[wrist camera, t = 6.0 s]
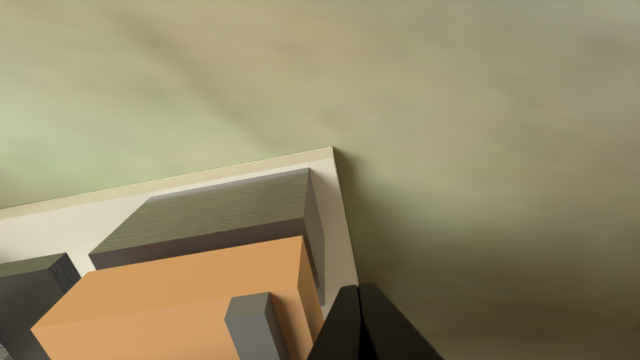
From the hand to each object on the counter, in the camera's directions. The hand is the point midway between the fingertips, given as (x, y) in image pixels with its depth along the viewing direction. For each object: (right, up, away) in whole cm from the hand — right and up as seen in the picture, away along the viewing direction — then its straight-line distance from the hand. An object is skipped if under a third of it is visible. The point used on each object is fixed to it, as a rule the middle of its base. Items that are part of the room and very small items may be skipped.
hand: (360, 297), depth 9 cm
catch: (-4, 0, +1) cm, 4 cm away
